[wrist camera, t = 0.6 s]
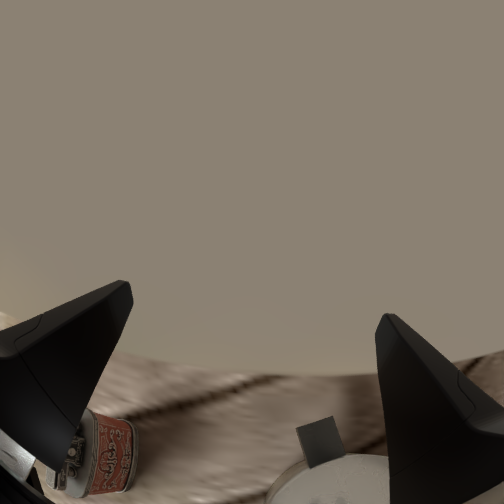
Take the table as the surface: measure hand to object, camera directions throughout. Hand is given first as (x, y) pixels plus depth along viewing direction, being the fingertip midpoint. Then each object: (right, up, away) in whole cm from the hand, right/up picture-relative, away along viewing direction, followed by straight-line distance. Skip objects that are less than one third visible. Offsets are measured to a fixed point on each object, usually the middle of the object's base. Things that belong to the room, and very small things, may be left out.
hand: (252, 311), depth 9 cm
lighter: (-12, -17, +8) cm, 23 cm away
